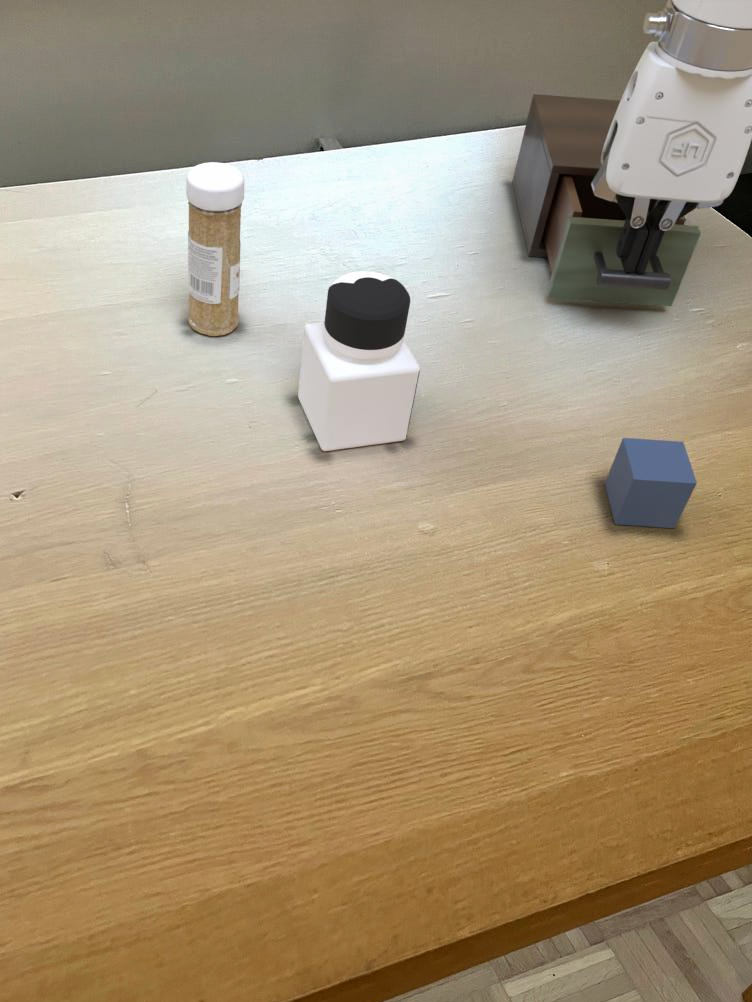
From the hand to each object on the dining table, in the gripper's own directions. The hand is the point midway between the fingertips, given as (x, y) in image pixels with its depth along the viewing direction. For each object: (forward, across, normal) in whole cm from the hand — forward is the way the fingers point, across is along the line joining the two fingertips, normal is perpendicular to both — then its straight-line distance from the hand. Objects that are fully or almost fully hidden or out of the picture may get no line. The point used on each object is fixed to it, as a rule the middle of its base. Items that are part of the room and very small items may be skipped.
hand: (631, 264), depth 91 cm
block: (+6, -2, -24) cm, 25 cm away
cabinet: (+6, 0, +18) cm, 19 cm away
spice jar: (+7, -36, -4) cm, 37 cm away
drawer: (+5, 0, +7) cm, 9 cm away
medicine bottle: (+7, -24, -16) cm, 29 cm away
